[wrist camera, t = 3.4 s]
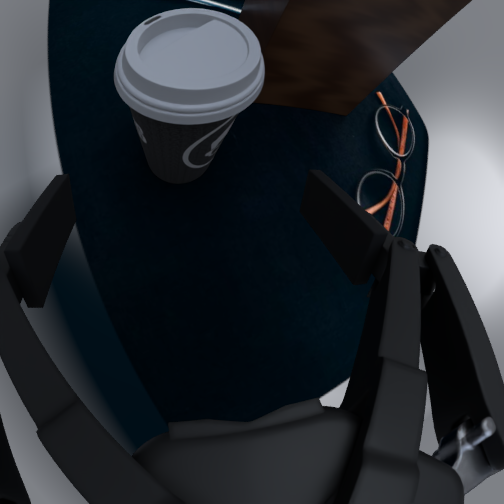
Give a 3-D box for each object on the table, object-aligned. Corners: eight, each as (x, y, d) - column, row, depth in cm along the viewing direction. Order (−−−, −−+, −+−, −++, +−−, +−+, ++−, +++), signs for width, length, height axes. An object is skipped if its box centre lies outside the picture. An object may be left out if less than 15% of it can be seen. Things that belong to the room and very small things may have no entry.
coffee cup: (200, 104, 29) (227, -6, 15) (243, 173, 29) (305, 78, 15) (118, 138, 26) (94, 26, 12) (156, 216, 26) (144, 130, 12)
